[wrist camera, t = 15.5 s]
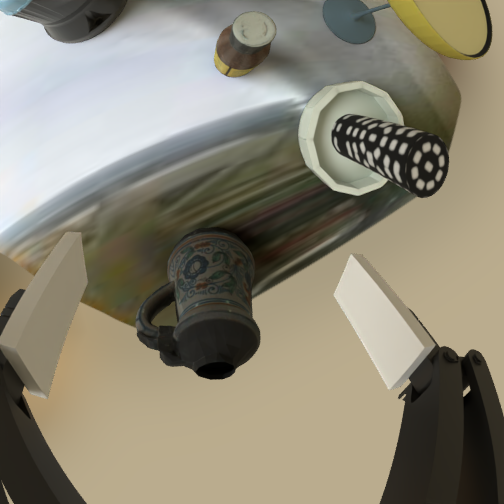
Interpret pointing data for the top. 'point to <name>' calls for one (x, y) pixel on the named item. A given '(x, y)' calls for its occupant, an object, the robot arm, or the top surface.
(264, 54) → the sauce bottle
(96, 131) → the top surface
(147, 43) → the top surface
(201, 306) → the beer stein
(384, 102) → the bowl
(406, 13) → the cocktail glass
